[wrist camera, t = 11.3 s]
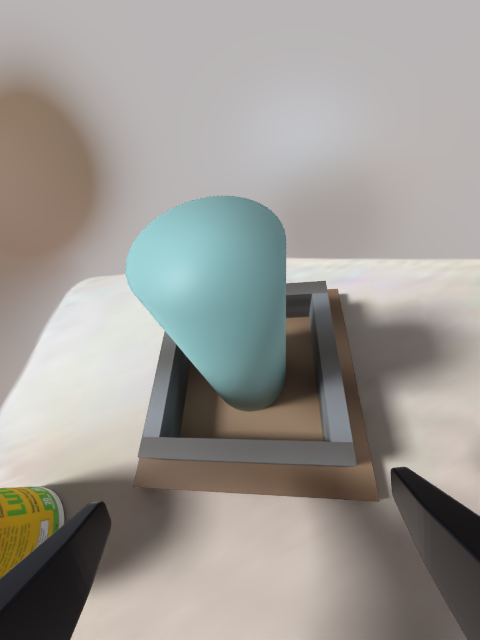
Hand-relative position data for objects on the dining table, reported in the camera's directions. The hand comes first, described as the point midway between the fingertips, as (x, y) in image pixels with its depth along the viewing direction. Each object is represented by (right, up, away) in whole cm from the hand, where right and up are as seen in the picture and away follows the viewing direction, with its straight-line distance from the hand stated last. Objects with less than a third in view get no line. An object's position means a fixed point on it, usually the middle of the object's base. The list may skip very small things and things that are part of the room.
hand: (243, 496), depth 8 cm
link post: (+1, +2, +10) cm, 10 cm away
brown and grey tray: (+1, +1, +11) cm, 11 cm away
